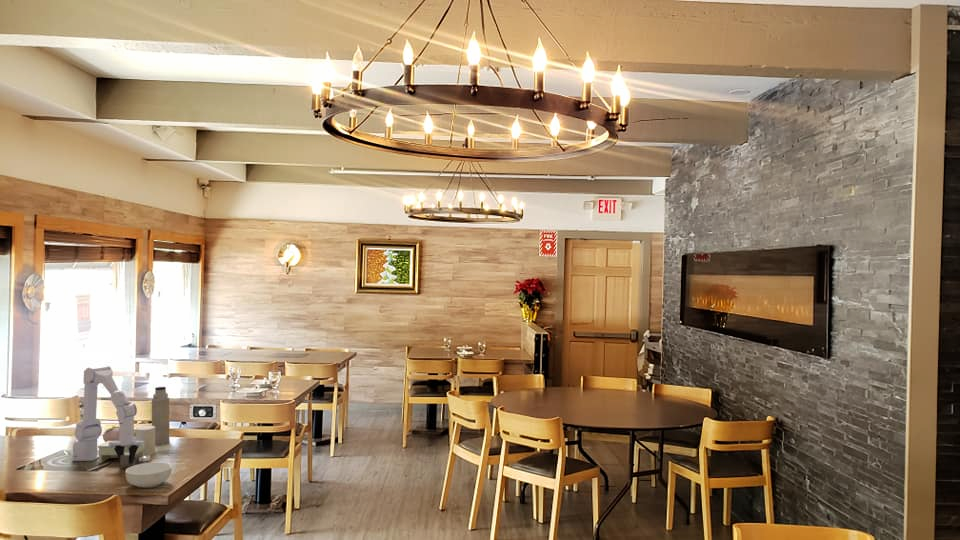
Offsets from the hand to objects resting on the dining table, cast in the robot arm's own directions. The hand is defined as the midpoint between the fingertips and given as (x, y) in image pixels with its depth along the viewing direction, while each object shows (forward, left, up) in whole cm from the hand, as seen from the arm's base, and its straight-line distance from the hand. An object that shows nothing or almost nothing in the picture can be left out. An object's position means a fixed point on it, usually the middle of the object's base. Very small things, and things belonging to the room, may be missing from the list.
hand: (126, 462), depth 310 cm
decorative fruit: (-22, +38, -2) cm, 44 cm away
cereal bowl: (+20, -25, -2) cm, 32 cm away
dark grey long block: (0, +5, -2) cm, 6 cm away
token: (+4, +9, -2) cm, 10 cm away
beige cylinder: (-1, +24, -2) cm, 24 cm away
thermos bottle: (-1, +42, -2) cm, 42 cm away
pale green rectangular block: (-7, +12, -2) cm, 14 cm away
